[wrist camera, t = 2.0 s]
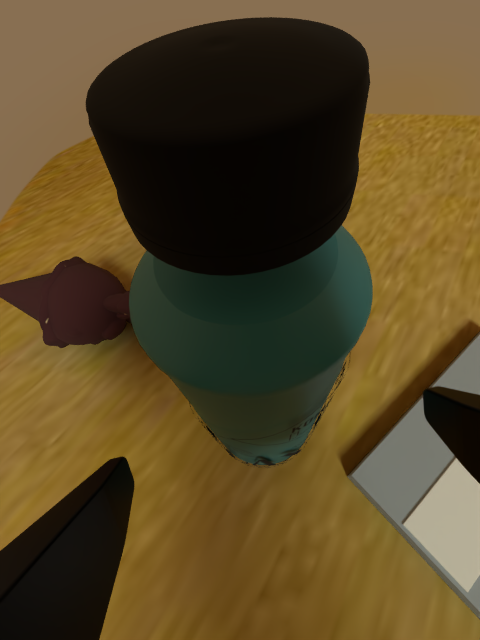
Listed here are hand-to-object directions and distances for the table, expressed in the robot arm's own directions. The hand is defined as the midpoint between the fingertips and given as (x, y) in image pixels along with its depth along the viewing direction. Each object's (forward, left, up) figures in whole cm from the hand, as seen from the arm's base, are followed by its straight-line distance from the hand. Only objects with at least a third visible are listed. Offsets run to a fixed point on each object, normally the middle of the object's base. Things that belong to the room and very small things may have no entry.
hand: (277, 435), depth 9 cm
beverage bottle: (+3, -2, -12) cm, 13 cm away
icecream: (+19, +4, -12) cm, 23 cm away
